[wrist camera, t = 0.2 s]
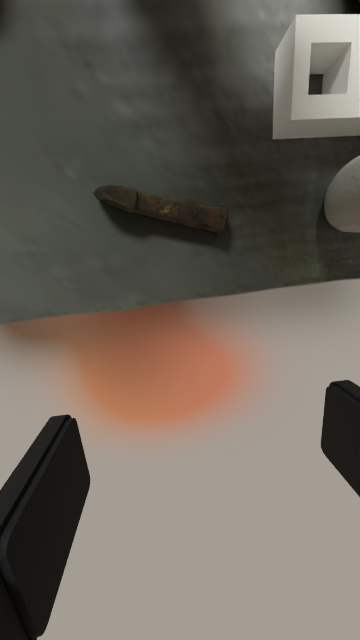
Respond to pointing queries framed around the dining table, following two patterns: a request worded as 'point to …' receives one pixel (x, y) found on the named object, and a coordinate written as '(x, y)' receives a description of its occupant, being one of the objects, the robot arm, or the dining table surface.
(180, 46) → the dining table surface
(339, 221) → the glass bottle
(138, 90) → the dining table surface
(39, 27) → the dining table surface
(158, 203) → the hand tool
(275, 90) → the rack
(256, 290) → the dining table surface
